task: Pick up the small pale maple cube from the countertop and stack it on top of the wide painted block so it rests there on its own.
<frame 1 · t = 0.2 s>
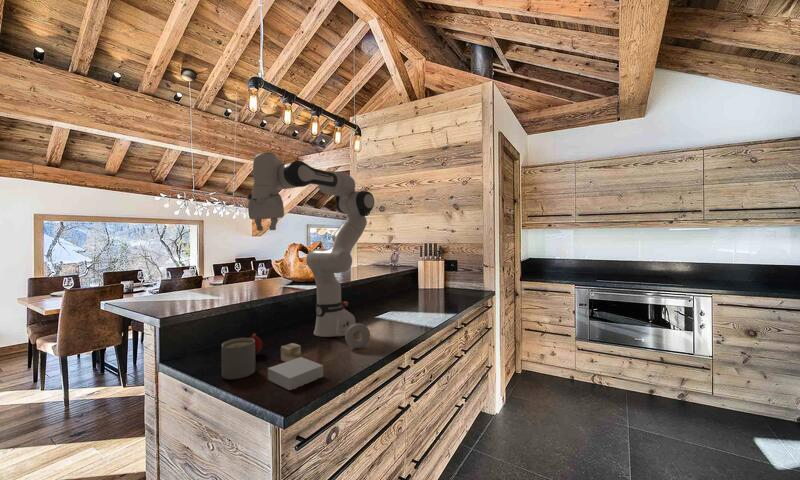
hand: (266, 230, 126), 47 cm above the table, tool pointing down, fingers open, 8 cm apart
maple cube: (290, 359, 118), on the table
painted block: (295, 379, 102), on the table
onion: (254, 355, 123), on the table
donut: (357, 348, 129), on the table
coffee mug: (240, 371, 109), on the table
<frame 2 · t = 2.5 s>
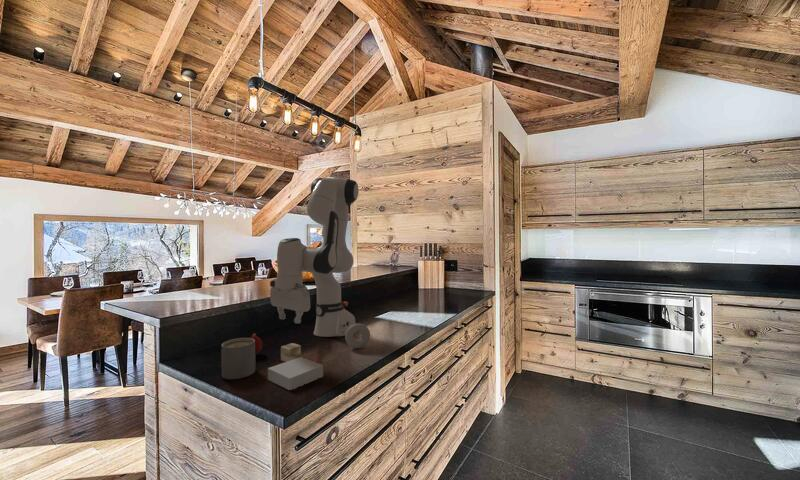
hand: (289, 321, 118), 14 cm above the table, tool pointing down, fingers open, 8 cm apart
nothing on the table moved.
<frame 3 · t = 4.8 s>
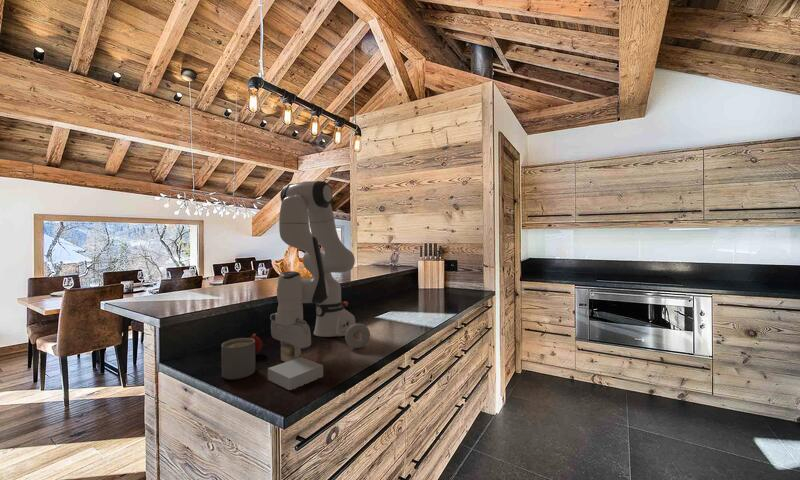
hand: (290, 354, 118), 2 cm above the table, tool pointing down, fingers closed on maple cube, 5 cm apart
maple cube: (290, 359, 118), on the table, touching gripper
everything else where it was.
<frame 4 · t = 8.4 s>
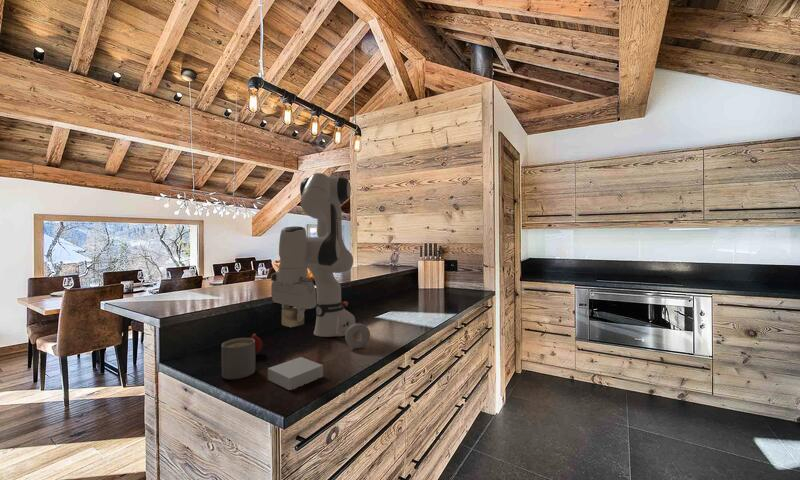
hand: (293, 319, 105), 18 cm above the table, tool pointing down, fingers closed on maple cube, 5 cm apart
maple cube: (292, 324, 105), point 16 cm above the table, touching gripper
everything else where it was.
when the fingers open (7 cm above the table, at t = 12.0 s): maple cube drops 2 cm, point 4 cm above the table.
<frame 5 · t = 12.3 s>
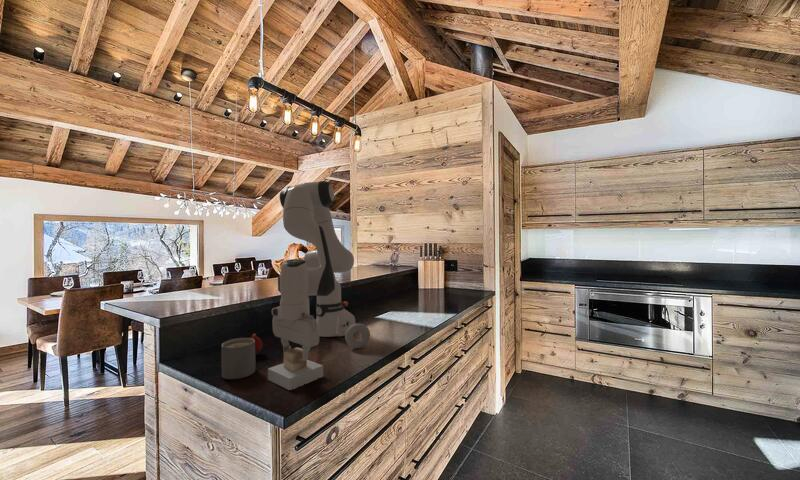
hand: (295, 354, 102), 7 cm above the table, tool pointing down, fingers open, 8 cm apart
maple cube: (295, 366, 103), point 4 cm above the table
everything else where it was.
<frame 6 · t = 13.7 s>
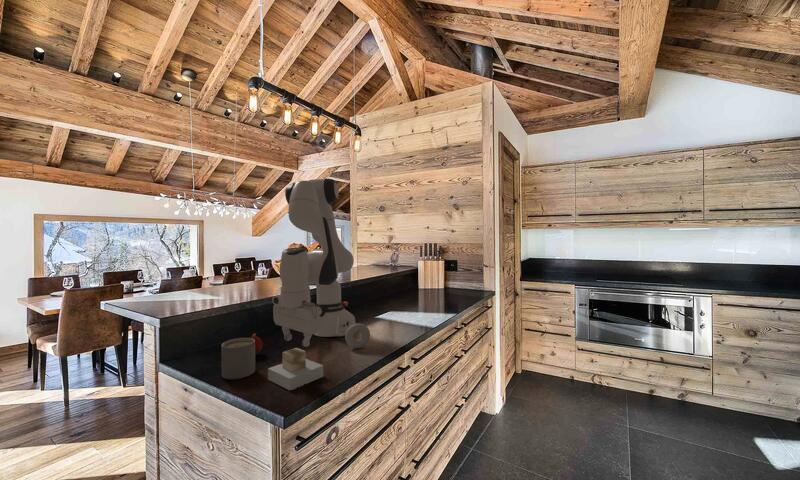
hand: (296, 342, 103), 11 cm above the table, tool pointing down, fingers open, 8 cm apart
nothing on the table moved.
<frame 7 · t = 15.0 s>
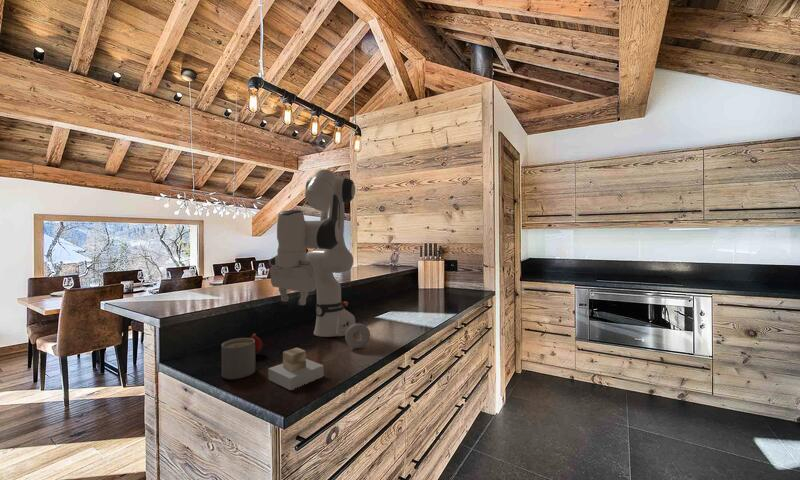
hand: (293, 302, 105), 23 cm above the table, tool pointing down, fingers open, 8 cm apart
maple cube: (294, 367, 102), point 4 cm above the table, touching painted block
painted block: (296, 379, 103), on the table, touching maple cube
everything else where it was.
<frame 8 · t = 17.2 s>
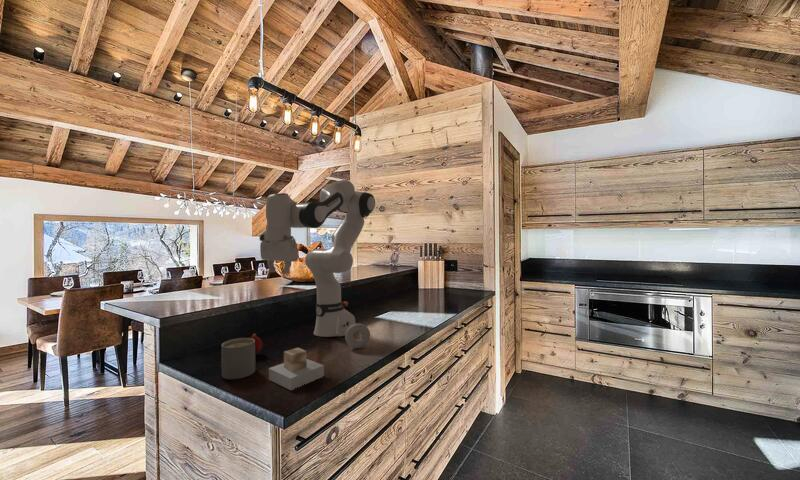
hand: (279, 272, 122), 31 cm above the table, tool pointing down, fingers open, 8 cm apart
nothing on the table moved.
at the end: maple cube inside the target area on the painted block (0.4 cm from its centre), point 4.0 cm above the painted block's base; maple cube touching painted block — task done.
